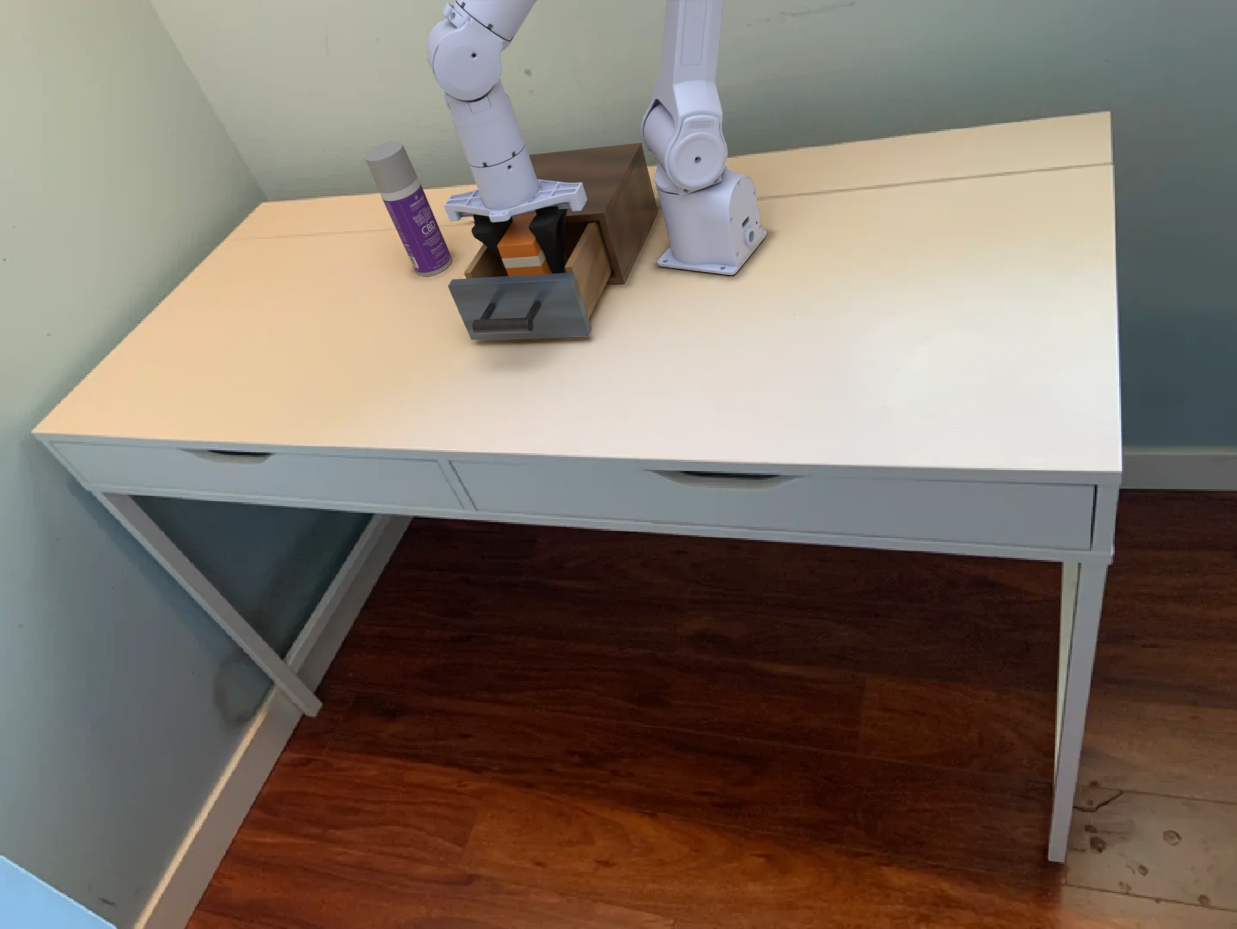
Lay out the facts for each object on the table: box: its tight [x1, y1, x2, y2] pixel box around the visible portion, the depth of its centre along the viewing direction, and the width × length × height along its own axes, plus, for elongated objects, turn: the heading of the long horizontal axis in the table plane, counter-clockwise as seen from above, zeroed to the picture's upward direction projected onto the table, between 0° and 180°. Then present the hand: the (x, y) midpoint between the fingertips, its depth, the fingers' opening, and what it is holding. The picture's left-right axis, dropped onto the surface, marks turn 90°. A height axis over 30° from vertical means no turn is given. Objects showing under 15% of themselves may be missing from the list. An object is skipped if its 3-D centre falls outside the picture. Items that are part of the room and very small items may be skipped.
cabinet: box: [512, 142, 659, 286], centre depth 107 cm, size 15×15×9 cm
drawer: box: [447, 220, 613, 341], centre depth 99 cm, size 18×13×7 cm
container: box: [364, 140, 453, 277], centre depth 111 cm, size 5×5×15 cm
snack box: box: [497, 214, 566, 276], centre depth 98 cm, size 6×4×6 cm
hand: (539, 273), depth 100 cm, fingers closed on snack box, 4 cm apart
